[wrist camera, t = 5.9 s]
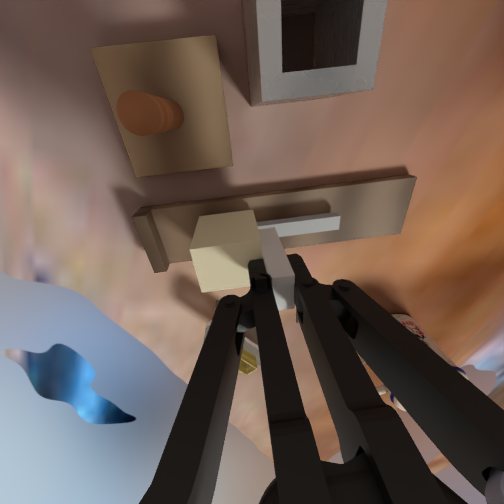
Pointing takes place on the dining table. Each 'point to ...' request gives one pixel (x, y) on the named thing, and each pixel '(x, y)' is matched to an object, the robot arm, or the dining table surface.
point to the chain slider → (242, 244)
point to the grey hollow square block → (324, 51)
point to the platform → (246, 350)
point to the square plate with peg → (167, 103)
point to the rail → (281, 215)
